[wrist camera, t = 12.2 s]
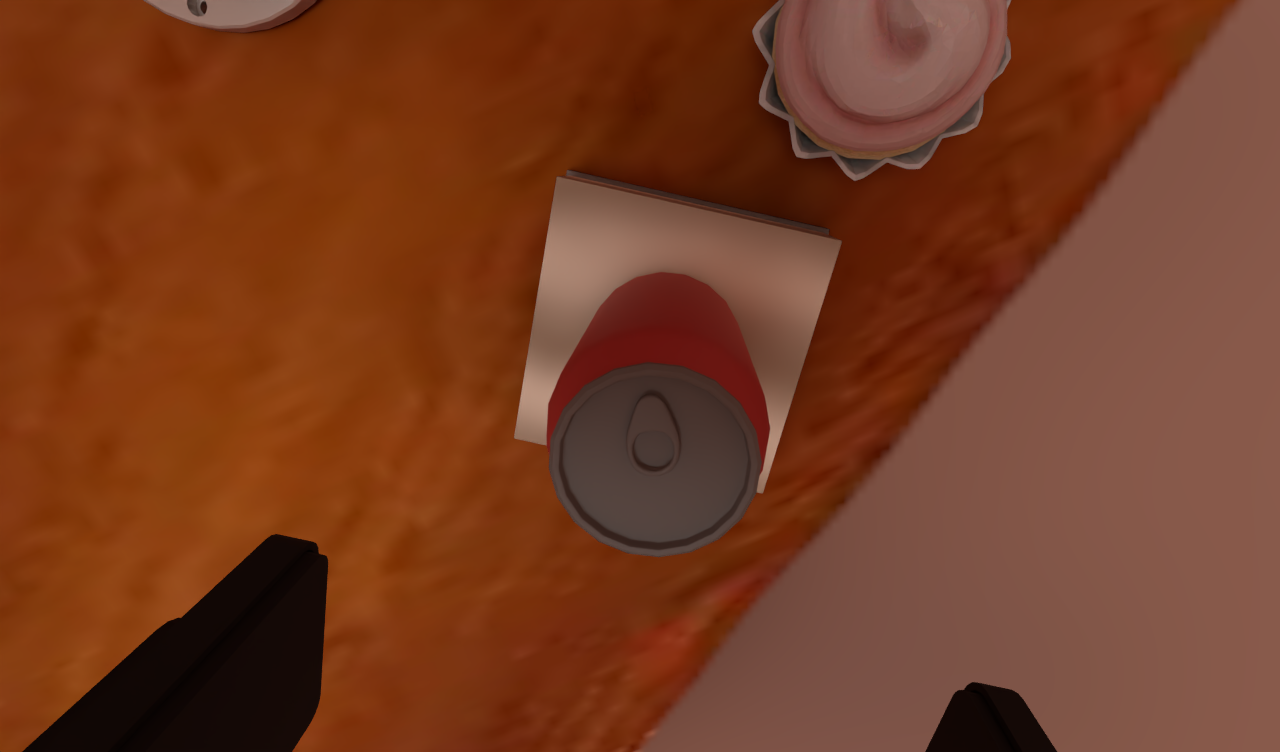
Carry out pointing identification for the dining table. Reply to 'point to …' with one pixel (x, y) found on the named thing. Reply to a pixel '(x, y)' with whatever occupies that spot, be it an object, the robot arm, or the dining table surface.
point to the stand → (682, 244)
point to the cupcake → (879, 75)
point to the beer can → (658, 420)
